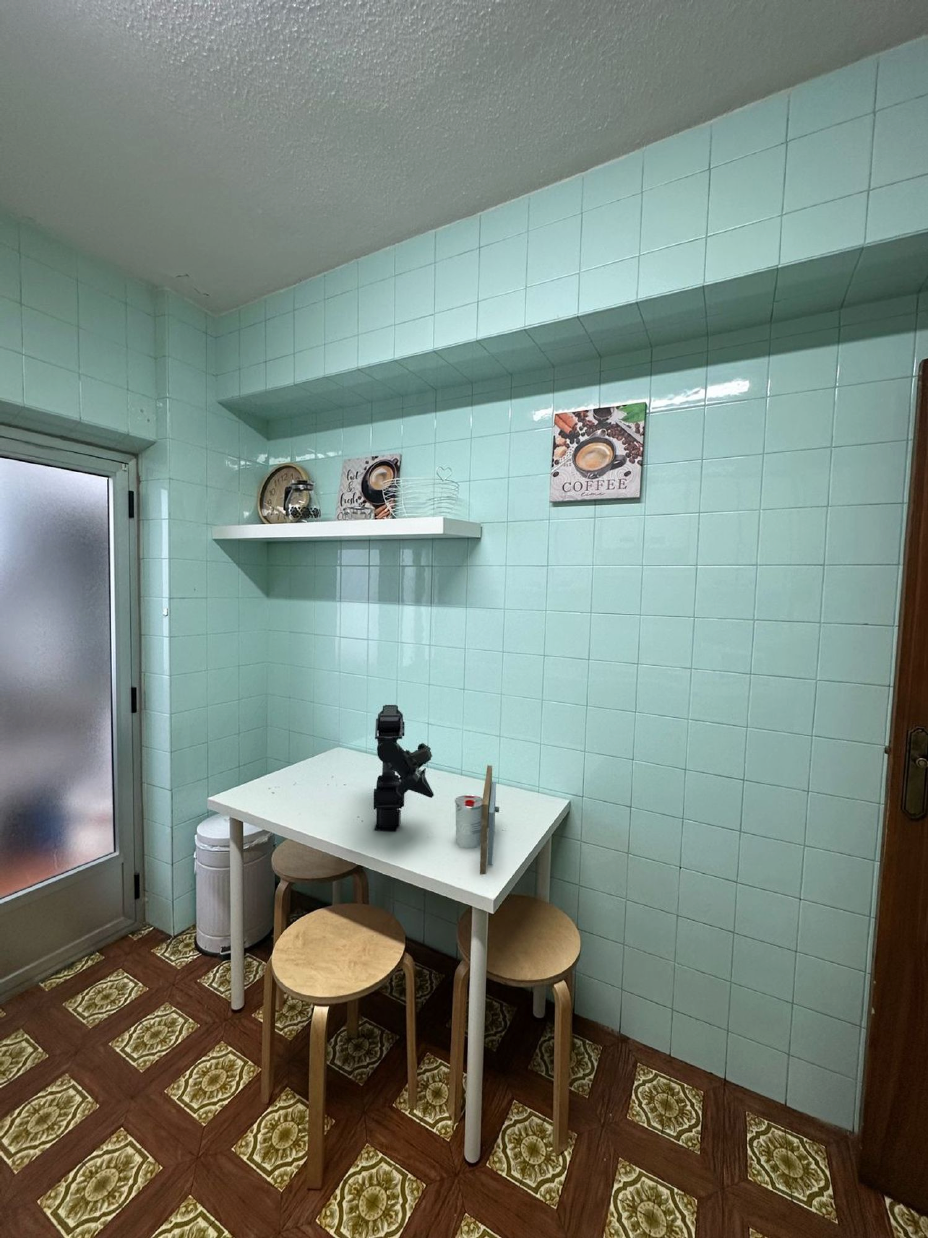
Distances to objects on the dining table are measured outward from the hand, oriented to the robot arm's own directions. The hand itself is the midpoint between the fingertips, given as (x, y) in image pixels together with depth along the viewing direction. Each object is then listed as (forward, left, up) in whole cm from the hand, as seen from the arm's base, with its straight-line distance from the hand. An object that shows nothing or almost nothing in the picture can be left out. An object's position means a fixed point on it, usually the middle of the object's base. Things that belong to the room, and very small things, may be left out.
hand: (432, 796), depth 145 cm
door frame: (+16, -1, -13) cm, 20 cm away
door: (+18, -1, -12) cm, 22 cm away
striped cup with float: (+11, 0, -13) cm, 17 cm away
